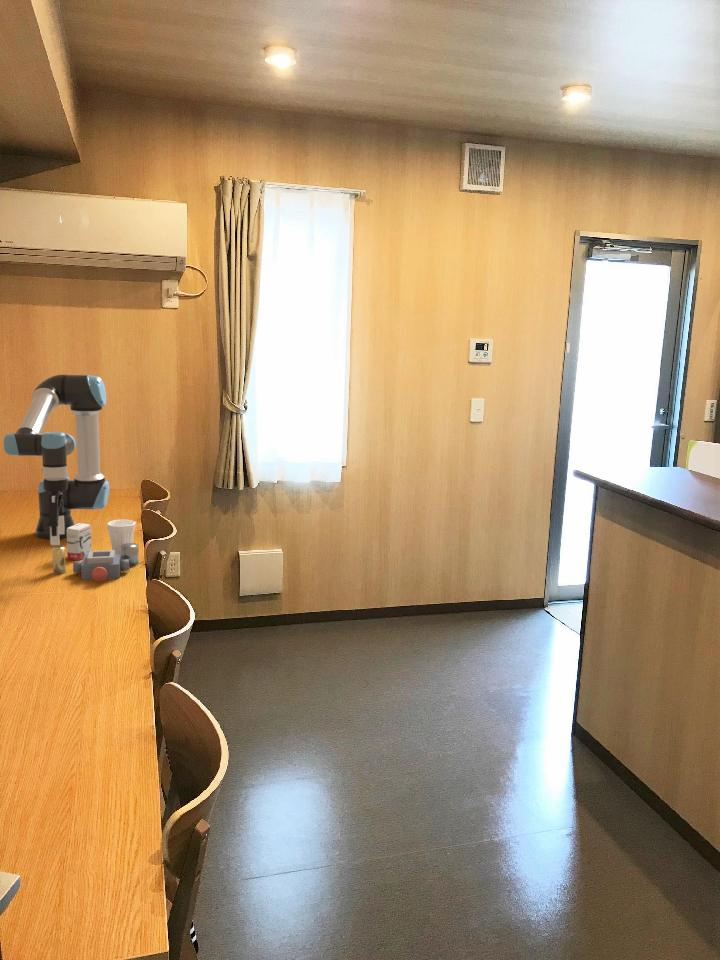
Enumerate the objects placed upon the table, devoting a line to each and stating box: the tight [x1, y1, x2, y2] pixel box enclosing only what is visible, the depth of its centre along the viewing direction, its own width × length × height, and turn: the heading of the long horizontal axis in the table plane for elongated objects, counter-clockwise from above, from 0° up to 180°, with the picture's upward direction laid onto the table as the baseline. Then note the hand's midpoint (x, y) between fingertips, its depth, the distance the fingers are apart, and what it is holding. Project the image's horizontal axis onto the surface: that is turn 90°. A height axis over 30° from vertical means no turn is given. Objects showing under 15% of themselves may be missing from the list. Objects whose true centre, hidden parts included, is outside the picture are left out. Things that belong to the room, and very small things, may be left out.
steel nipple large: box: [121, 542, 140, 568], centre depth 255 cm, size 6×6×7 cm
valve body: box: [72, 549, 130, 582], centre depth 242 cm, size 16×18×7 cm
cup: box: [106, 519, 136, 554], centre depth 262 cm, size 10×10×13 cm
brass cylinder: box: [51, 545, 67, 576], centre depth 243 cm, size 4×4×9 cm
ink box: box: [66, 522, 93, 561], centre depth 260 cm, size 9×5×12 cm, turn 168°
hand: (57, 539), depth 241 cm, fingers open, 13 cm apart
